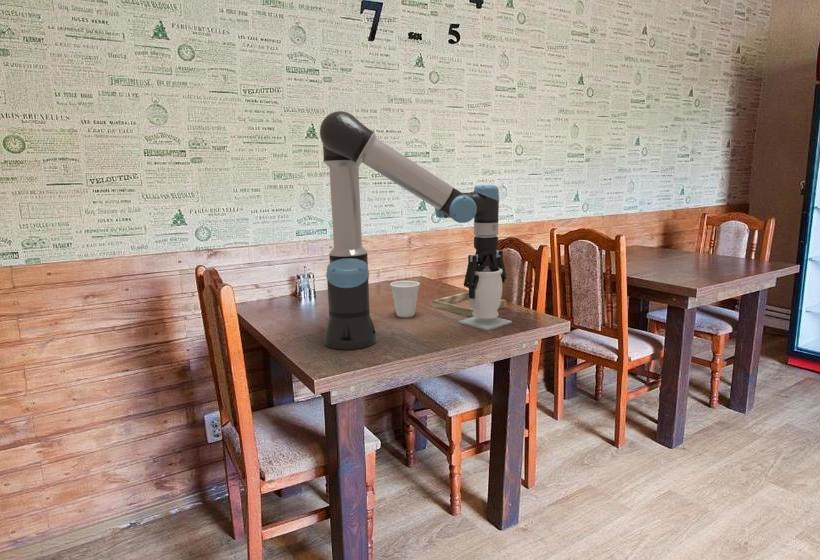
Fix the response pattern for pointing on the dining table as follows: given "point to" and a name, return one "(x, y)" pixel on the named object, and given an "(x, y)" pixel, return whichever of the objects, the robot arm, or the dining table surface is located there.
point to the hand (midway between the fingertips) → (485, 305)
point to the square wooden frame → (448, 306)
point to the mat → (485, 322)
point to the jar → (488, 293)
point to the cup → (405, 297)
